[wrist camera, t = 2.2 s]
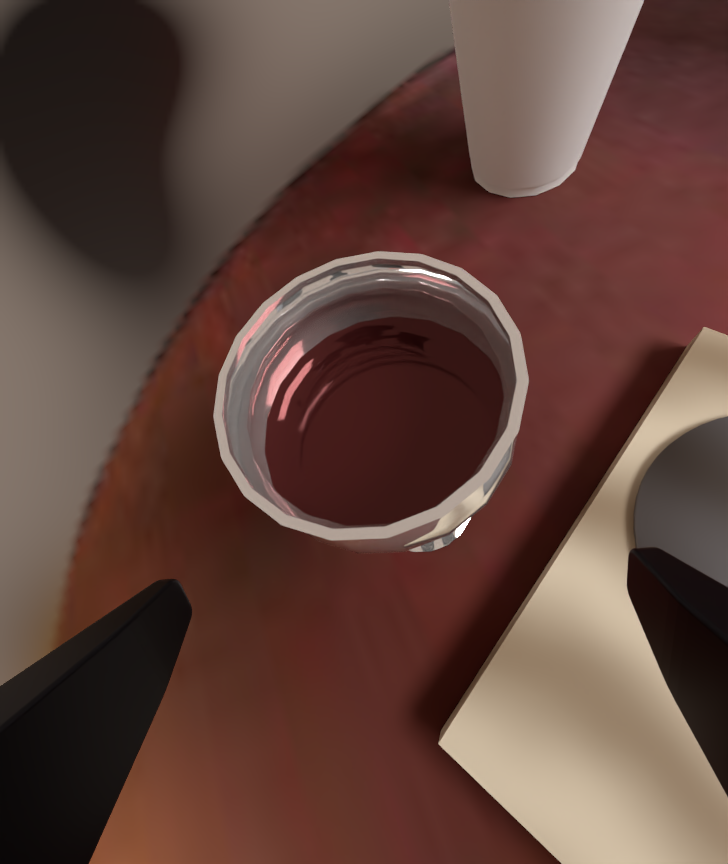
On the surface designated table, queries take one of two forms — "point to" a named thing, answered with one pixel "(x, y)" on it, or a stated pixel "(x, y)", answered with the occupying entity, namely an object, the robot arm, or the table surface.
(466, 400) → the wineglass
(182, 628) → the robot arm
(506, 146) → the foam cup
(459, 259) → the table surface
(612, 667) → the serving board
